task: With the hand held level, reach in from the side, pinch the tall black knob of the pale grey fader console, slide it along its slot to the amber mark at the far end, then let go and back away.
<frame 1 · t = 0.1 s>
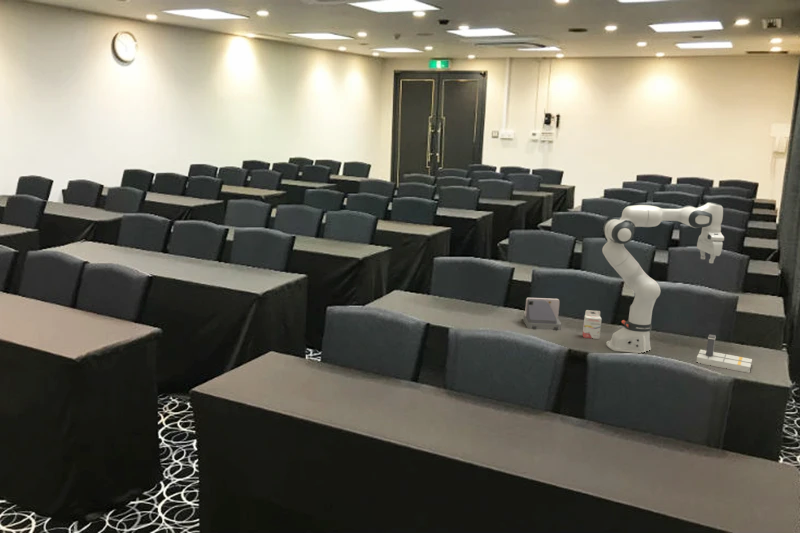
hand: (706, 261, 353), 48 cm above the table, tool pointing down, fingers open, 8 cm apart
fader knob: (710, 347, 346), point 7 cm above the table, slide at 0.0 cm
ink cartridge box: (590, 337, 378), on the table
tablet on stand: (541, 325, 397), on the table
fader console: (723, 363, 344), on the table
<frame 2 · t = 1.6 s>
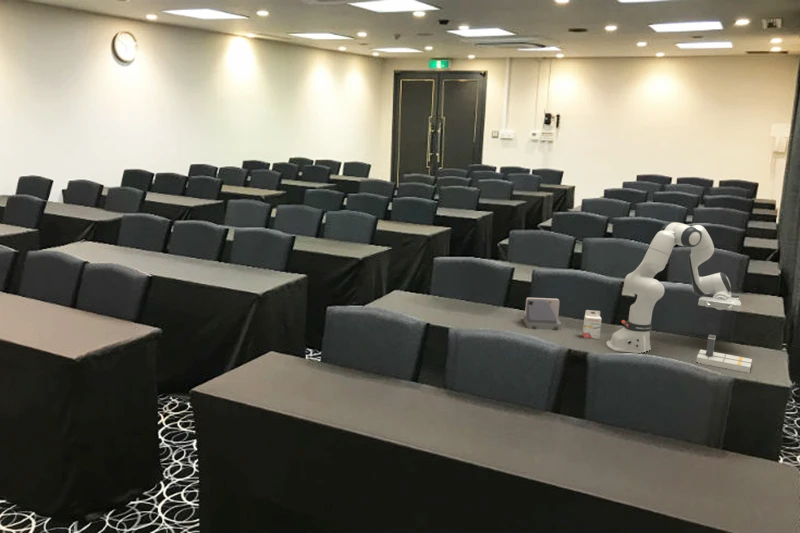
hand: (718, 307, 352), 25 cm above the table, tool horizontal, fingers open, 8 cm apart
nothing on the table moved.
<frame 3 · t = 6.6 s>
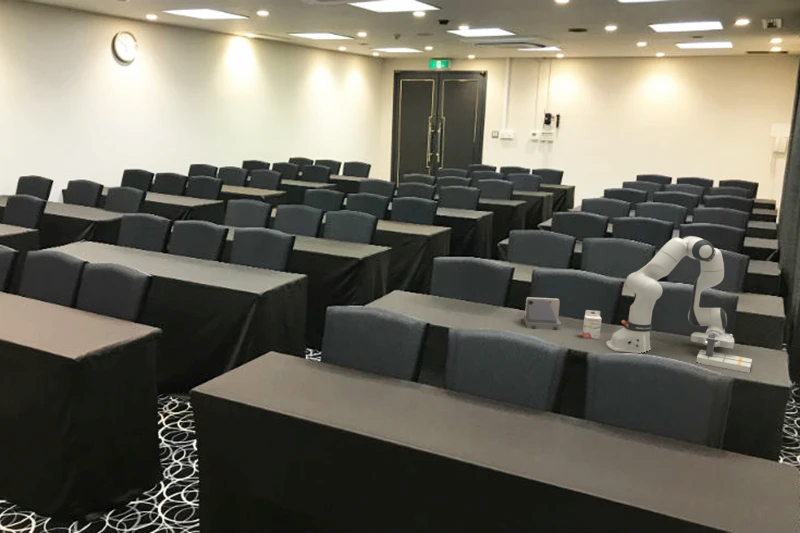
hand: (710, 344, 345), 9 cm above the table, tool horizontal, fingers closed on fader knob, 3 cm apart
fader knob: (710, 347, 346), point 7 cm above the table, slide at 0.0 cm, touching gripper
everything else where it was.
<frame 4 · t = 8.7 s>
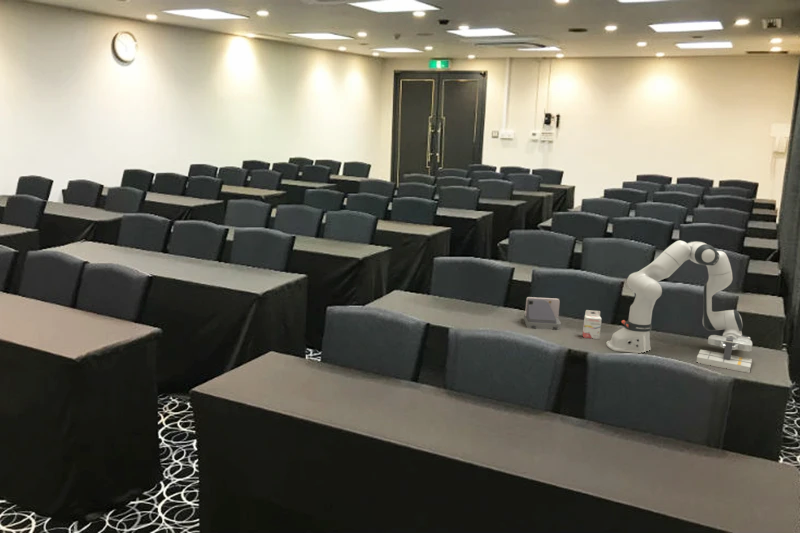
hand: (728, 347, 341), 9 cm above the table, tool horizontal, fingers closed on fader knob, 3 cm apart
fader knob: (728, 350, 342), point 7 cm above the table, slide at 8.1 cm, touching gripper
everything else where it was.
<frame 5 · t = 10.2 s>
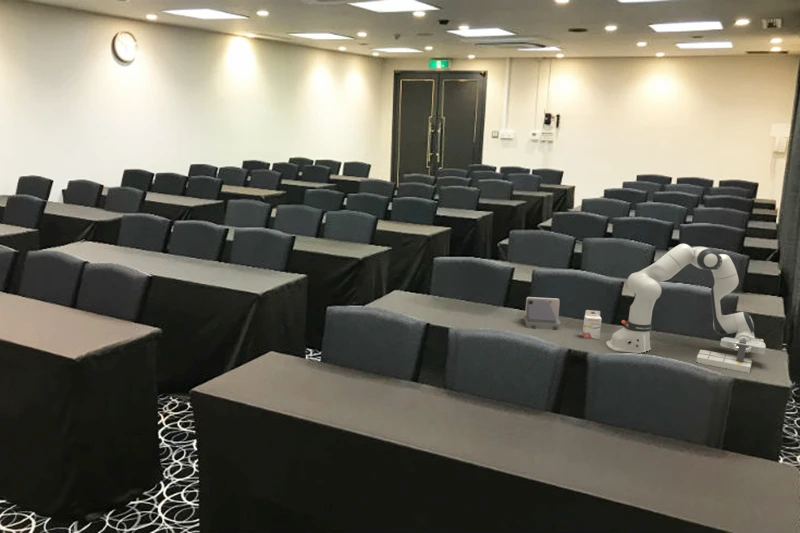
hand: (741, 349, 338), 9 cm above the table, tool horizontal, fingers closed on fader knob, 3 cm apart
fader knob: (741, 352, 339), point 7 cm above the table, slide at 14.0 cm, touching gripper
everything else where it was.
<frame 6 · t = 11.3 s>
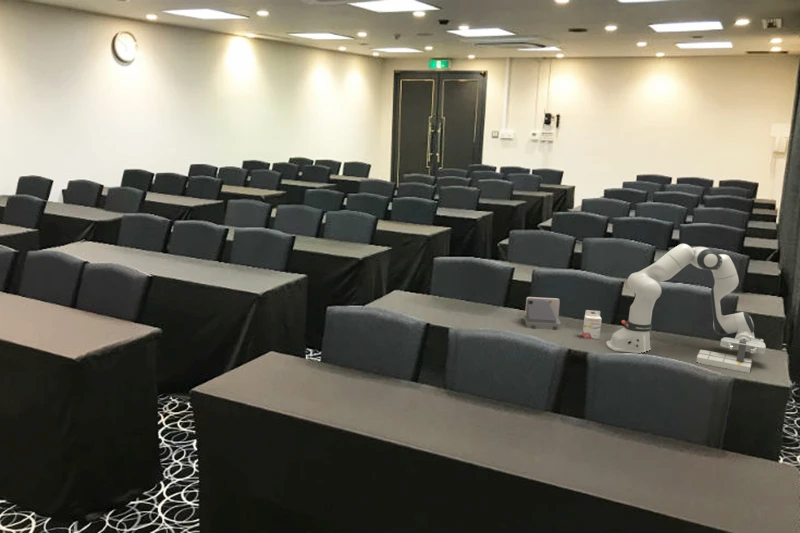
hand: (741, 349, 338), 9 cm above the table, tool horizontal, fingers open, 8 cm apart
fader knob: (741, 352, 339), point 7 cm above the table, slide at 14.0 cm
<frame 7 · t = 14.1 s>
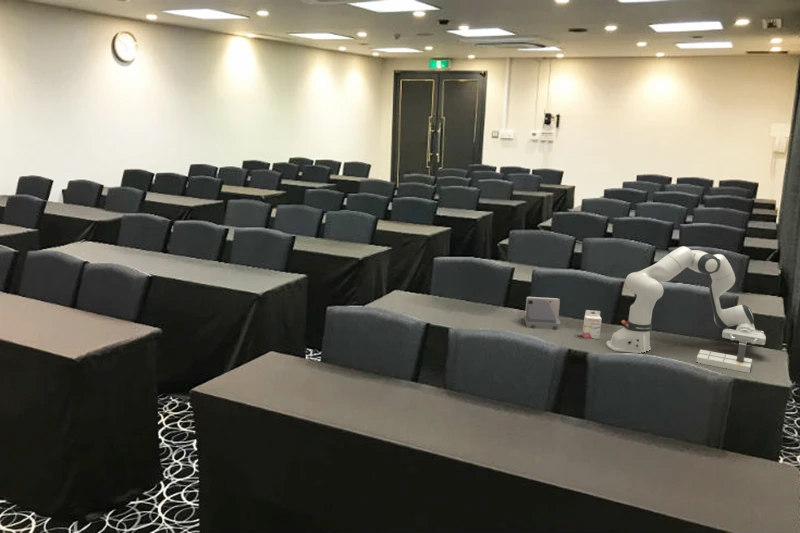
hand: (742, 340, 349), 10 cm above the table, tool horizontal, fingers open, 8 cm apart
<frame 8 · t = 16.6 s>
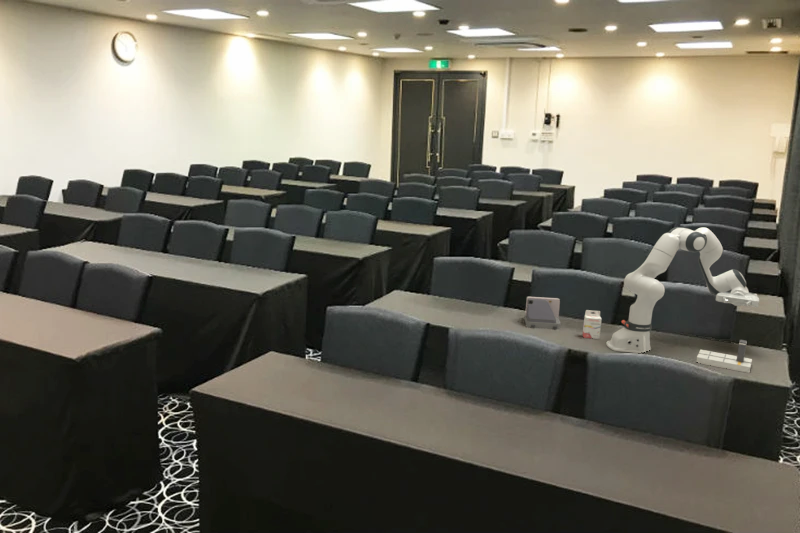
hand: (736, 303, 351), 28 cm above the table, tool horizontal, fingers open, 8 cm apart
at the end: fader knob slide at 14.0 cm; the gripper is holding nothing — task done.
